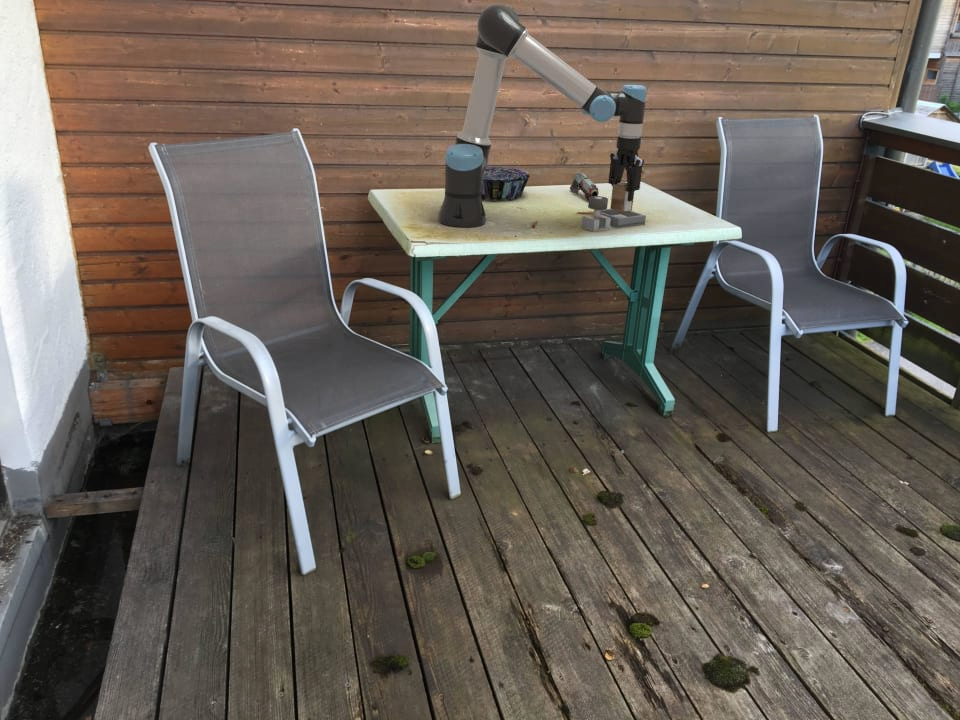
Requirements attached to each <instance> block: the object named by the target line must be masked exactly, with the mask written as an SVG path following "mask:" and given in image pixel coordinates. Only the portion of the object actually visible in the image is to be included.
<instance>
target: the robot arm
mask: <svg viewBox="0 0 960 720" xmlns="http://www.w3.org/2000/svg"><path fill="white" fill-rule="evenodd" d="M476 26H477V27H476V28H477V32H478V35H477V39H476V43H475V49H476V51H477V53H478V57H477V63H476V67H475V73H474V76H473V80H472V81H473V82H472V85H471V89H470V95H469V99H468V104H467V109H466V114H465V117H464V123H463V127H462V131H460V132H459V133H457V134H456V139H455V143H454V145H450V146H449V147H448V148H447V149H446V152H445V156H444V161H445V171H444V173H445V175H444V177H445V178H444V179H445V181H444V198H443V202H442V203H441V207H440V210H439V213H438V222H440V224H443V225H446V226H449V227H457V228H473V227H480V226H483V225H485V224H486V216H487V215H486V211H485V208H484V204H483V199H481V190H482V175H483V173H484V172H485V170H486V168H487V167H489V157H490V151H491V148H492V141H491V140H490V138H489V135H490V131H491V126H492V123H493V122H492V121H493V118H494V117H493V116H494V115H495V114H494V113H495V109H496V104H497V101H498V97H499V91H500V86H501V83H502V79H503V78H502V77H503V74H504V70H505V65H506V62H507V60H508V59H510V58H514V59H515V60H517V61H518V62H520V63H521V64H522V65H523V66H525V67H526V68H527V69H529V70H530V71H531V72H533V73H534V74H535V75H536V76H538V77H540V78H541V79H542V80H543V81H545V82H546V83H547V84H548V85H550V86H551V87H552V88H554V89H555V90H557V91H558V92H560V94H562V96H563V95H564V97H566V98H567V99H568V100H570V101H571V102H573V103H574V104H575V105H577V106H578V107H579V108H581V109H582V112H581V113H582V114H583V115H585V116H587V115H589V116H590V117H591V118H592V119H593V120H594V121H596V122H599V123H607V122H609V121H610V120H611V119H612V118H613V117H619V120H618V126H617V127H618V128H617V135H618V136H617V139H616V146H615V147H616V149H617V151H616V152H611V153H610V154H609V155H610V156H609V157H610V166H609V173H608V181H607V182H608V184H609V185H611V187H612V188H611V189H613V184H617V183H622V179H623V175H624V172H626V183H627V189H628V190H626V191H625V200H624V208H623V211H630V210H631V205H632V201H633V202H634V197H635V191H639V190H640V189H641V181H642V172H643V165H644V164H645V159H643V158H642V159H641V158H640V157H639V153H638V152H639V150H640V149H641V142H642V138H641V137H642V135H643V134H642V133H643V127H644V119H645V112H646V111H645V109H646V104H647V88H646V86H645V85H641V84H624V85H622V89H621V90H617V91H615V90H603V89H601V88H599V87H598V86H596V85H595V84H594V83H592V82H591V81H590V80H589V79H587V78H586V77H585V76H583V75H582V74H581V73H580V72H578V71H577V70H576V69H574V68H573V67H572V66H570V65H569V63H566V62H565V61H564V60H562V59H561V58H560V57H559V56H557V55H556V54H555V53H553V52H552V51H551V50H550V49H548V48H547V47H546V46H545V45H543V44H542V43H540V42H539V41H538V40H537V39H536V38H534V37H533V36H531V35H530V34H529V30H528V28H527V27H526V26H525V25H523V24H522V23H521V22H520V20H519V16H518V14H517V12H515V10H514V9H513V8H511V7H510V6H508V5H505V4H502V3H501V4H492V5H489V6H487V7H486V8H484V10H483V11H482V12H481V13H480V15H479V17H478V20H477V25H476ZM631 186H632V187H631ZM632 206H633V205H632Z"/></svg>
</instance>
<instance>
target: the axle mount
mask: <svg viewBox="0 0 960 720" xmlns="http://www.w3.org/2000/svg"><path fill="white" fill-rule="evenodd" d="M610 221H611V218H609V217H606V216H604V215H601V214H600V217H599V218H595V217H593V216H590V215H588V214H587V215H582V216H581V226H580V227H581V229H583V230H586V229H587V231H589V230H590V232H592V233H596V232H595V231H597V232H603V231H602V230H604V231H609V230H611V226H610Z"/></svg>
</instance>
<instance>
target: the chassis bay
mask: <svg viewBox="0 0 960 720" xmlns="http://www.w3.org/2000/svg"><path fill="white" fill-rule="evenodd" d="M600 214H601V215H604V216H606V217H609V218H611V221H610V227H613V228H615V229H623V228H631V227H638V226H644V225H645V224H646V221H647V220H646V219H647V215H645V214H642V213H640V212H636V211H634V210H632V211H624V212H619V211H616V210H613V209H610V208H607V209H606V210H600Z"/></svg>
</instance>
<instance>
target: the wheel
mask: <svg viewBox="0 0 960 720" xmlns="http://www.w3.org/2000/svg"><path fill="white" fill-rule="evenodd" d="M608 202H609V198H607V197H605V196H600V195H598V196H591V197H589V201H588V204H587V205H588V206H587V207H588V209H591V210H593V216H592V217H595V218H599V217H600V210H606V209H608V204H609V203H608Z"/></svg>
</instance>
